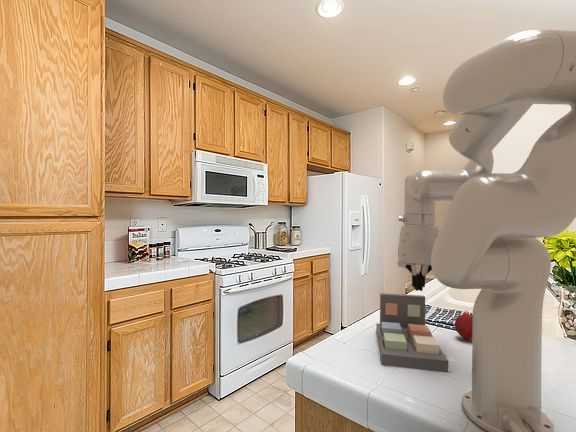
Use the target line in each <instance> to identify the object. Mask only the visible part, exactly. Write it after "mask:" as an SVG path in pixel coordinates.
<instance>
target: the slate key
mask: <svg viewBox="0 0 576 432" xmlns="http://www.w3.org/2000/svg"><path fill="white" fill-rule="evenodd" d="M381 331H382V336H384V333H394V334H402V328H401V326H400V323H391V322H381Z"/></svg>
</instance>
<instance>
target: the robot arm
mask: <svg viewBox="0 0 576 432" xmlns="http://www.w3.org/2000/svg"><path fill="white" fill-rule="evenodd" d="M442 102H443V106H444V109H445V110H447V112H448V113H451V114H453V115H460V117H459V118H458V119H457V120H456V123H455V124H454V125H453V126H452V127H451V129H450V131H449V134H448V141H449V144H450V146H451V147H452V149H454V151H456V152H457V153H458V154H460V155H461V156H462V157H465V158H466V159H467V160H469V161H468V162H467V163H466V165H465V166H464V167H463V168H461V169H422V170H421V169H420V170H419V171H417V172H415V173H412V174H408V175H407V176H406V177H405V178H404V206H403V207H404V211H403V212H404V213H403V215H400V216H399V215H398V222H401V223H403V225H401V227H400V230H399V240H398V248H397V249H398V252H397V253H398V254H397V256H398V260H397V263H396V266H398V267H400V268H404V269H406V270H408V271H409V273H411V287H412V288H414V290H415V291H416V292H419V291H420V292H423V291H424V290H423V288H425V287H426V276H427V275H428V274H429V273H430V272H431V271H432V273H433V275H434V277H435V278H436V280H437V281H438V282H439V283H440V284H442V285H444V286H445V287H448V288H451V289H454V290H455V289H456V290H480V291H479V292H478V294H477V296H476V298H475V300H474V305H473V307H472V316H473V318H472V338H471V341H472V342H471V343H472V344H471V346H472V347H471V353H472V354H471V356H472V357H471V359H472V360H471V390H470V391H467V392H465V393H464V394H463V396H462V398H461V408H462V411H463V412H464V413H465V415H466V416H467V418H469V419H470V420H471V421H472V422H474V424H475V425H477V426H478V427H480V428H482V429H483V430H485V431H487V432H555V430H554V428H555V426H554V424H553V422H552V421H551V420H550V418H549V416H547V415H546V414H545V413H544V412H543V411H542V355H543V354H542V351H543V350H542V346H543V345H542V344H543V343H542V341H543V340H542V339H543V338H542V334H543V307H544V300H545V299H544V298H545V293H546V289H547V286H548V282H549V279H550V274H551V268H552V260H551V254H550V253H549V250H548V249H547V247H546V245H544V243H543V242H542V241H541V240H540V239H539V238H549V237H554V236H557V235H560V234H561V233H563V232H564V231H565V230H567V229H568V228H569V226H571V224H572V223H573V222H574V220H575V219H576V30H563V29H562V30H561V29H543V28H542V29H532V30H531V29H530V30H525V31H521V32H520V31H519V32H517V33H515V34H512V35H510V36H508V37H506V38H504V39H502V40H500V41H498V42H497V43H494V44H493V45H491V46H489V47H487V48H485V49H484V50H481V51H480V52H477V53H476V54H474V55H472V56H470V57H469V58H467V59H466V60H465V61H463V62H461V64H459V65H458V66H457V68H455V70H453V72H452V73H451V74H450V76H449V77H448V79H447V81H446V84H445V86H444V90H443V93H442ZM537 104H538V105H568V106H570V111H569V112H567V113H566V114H565V115H563V116H562V117H560V118H559V119H558V120H556V121H555V122H554V123H553V124H551V125H550V126H549V127H548V128H547V129H546V130H545V131H544V132H543V133H542V134H541V135H540V137H539V138H538V139H537V141H535V142H534V144H533V147H532V148H531V150H530V152H529V155H528V156H527V157H526V160H525V161H524V163H523V164H522V166H521V167H520V168H519V169H518V170H516V171H515V172H511V173H504V172H503V173H500V172H499V173H497V172H496V173H495V172H494V173H492V172H493V169H494V161H495V160H494V154H493V150H494V149H495V148H496V147H497V146H498V145H499V144H500V142H501V141H502V140H503V139H504V138H505V137H506V135H507V134H508V133H509V132H511V130H512V129H513V128H514V127H515V125H517V123H519V121H520V120H521V118H523V117H524V115H526V113H527V112H528V111H529V109H530V108H531V107H532V106H533V105H537ZM436 202H450V205H449V207H448V209H447V211H446V214H445V216H444V219H443V221H442V223H441V226H440V229H439V226H436ZM417 265H420V268H419V271H418V270H417Z"/></svg>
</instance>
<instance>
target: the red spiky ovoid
mask: <svg viewBox="0 0 576 432" xmlns="http://www.w3.org/2000/svg"><path fill="white" fill-rule="evenodd" d="M472 318H473V315H471V313H470V312H469V311H468V310H465V311H464V313H462V314H460V315H458V317H456V319H455V321H454V328H455V331H456V333H458V335H459V336H460V337H461V338H463V340H466V341H469V340H472Z"/></svg>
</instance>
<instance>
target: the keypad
mask: <svg viewBox="0 0 576 432" xmlns="http://www.w3.org/2000/svg"><path fill="white" fill-rule="evenodd" d="M381 322H391V323H400V326H401V328H402V334H404V336H405V339H406V341H407V351H398V350H388V349H385V346H384V336H382V331H381ZM375 324H376V328H375V329H376V331H375V332H376V339H377V344H378V351H379V357H380V364H381V366H386V367H387V366H390V367H397V368H407V369H415V370H417V369H418V370H424V371H425V370H426V371H434V372H443V373H449V359H448V358H447V357H446V355H445V353H444V351H443V350H442V348H441V346H439V354H429V353H419V352H416V351H415V348H414V346H413V339H410V337H409V334H408V324H416V325H426V296H425V295H418V294H402V293H401V294H399V293H385V292H380V293H379V323H377V322H376V323H375ZM431 337H434V335H433V334H432V333H431Z"/></svg>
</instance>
